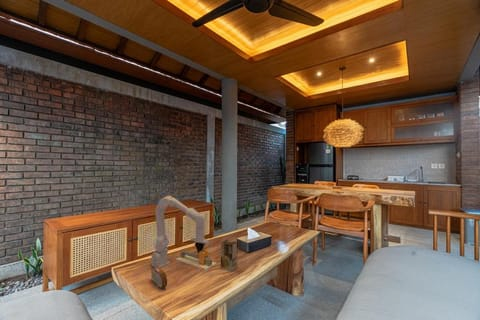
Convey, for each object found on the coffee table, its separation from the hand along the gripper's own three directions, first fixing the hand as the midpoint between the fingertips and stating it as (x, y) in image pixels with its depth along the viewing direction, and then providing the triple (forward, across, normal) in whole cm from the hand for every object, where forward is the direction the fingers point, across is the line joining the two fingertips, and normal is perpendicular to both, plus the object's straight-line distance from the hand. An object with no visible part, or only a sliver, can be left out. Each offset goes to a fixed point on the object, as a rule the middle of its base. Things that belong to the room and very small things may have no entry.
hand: (199, 253), depth 146 cm
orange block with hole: (+5, -3, 0) cm, 6 cm away
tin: (+7, +1, +32) cm, 32 cm away
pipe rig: (+6, +4, 0) cm, 7 cm away
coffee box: (+7, -20, -6) cm, 21 cm away
